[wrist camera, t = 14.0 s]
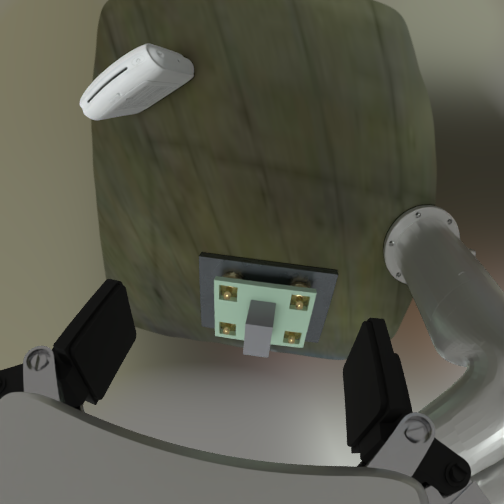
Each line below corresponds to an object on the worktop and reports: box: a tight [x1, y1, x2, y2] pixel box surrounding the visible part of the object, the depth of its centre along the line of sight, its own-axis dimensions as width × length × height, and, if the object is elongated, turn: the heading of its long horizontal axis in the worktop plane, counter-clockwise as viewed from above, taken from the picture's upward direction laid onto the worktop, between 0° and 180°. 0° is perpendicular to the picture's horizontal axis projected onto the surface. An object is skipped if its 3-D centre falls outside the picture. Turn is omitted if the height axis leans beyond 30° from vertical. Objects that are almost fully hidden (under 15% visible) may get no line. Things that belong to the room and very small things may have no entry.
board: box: [214, 276, 317, 357], centre depth 40 cm, size 14×11×6 cm
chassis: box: [199, 252, 338, 344], centre depth 44 cm, size 20×14×5 cm
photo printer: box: [80, 44, 194, 120], centre depth 26 cm, size 10×4×12 cm, turn 117°
